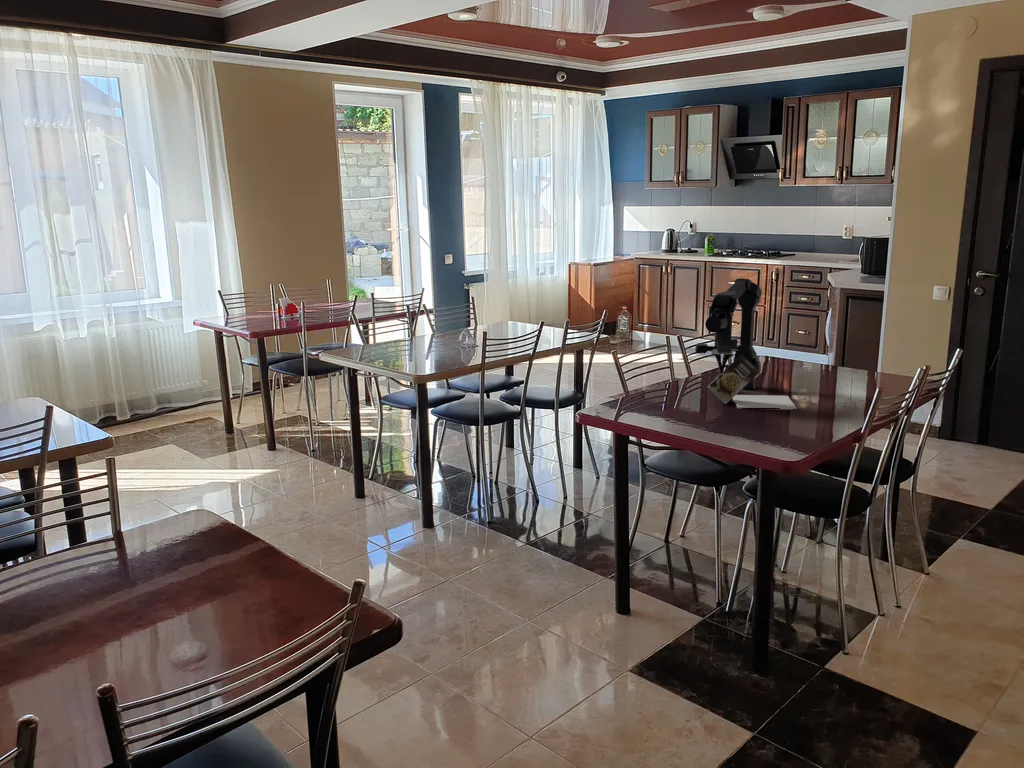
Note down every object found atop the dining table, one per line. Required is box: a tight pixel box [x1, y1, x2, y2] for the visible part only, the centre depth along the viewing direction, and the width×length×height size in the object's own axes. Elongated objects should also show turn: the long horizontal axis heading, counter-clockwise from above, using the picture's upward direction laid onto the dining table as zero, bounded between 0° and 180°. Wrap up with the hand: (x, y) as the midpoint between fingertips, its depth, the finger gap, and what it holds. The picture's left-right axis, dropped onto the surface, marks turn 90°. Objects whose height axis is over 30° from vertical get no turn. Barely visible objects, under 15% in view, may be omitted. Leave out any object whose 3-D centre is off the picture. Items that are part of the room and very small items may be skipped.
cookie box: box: [707, 354, 761, 405], centre depth 283 cm, size 9×6×16 cm
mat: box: [732, 394, 797, 410], centre depth 284 cm, size 18×20×1 cm
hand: (721, 372), depth 284 cm, fingers closed
